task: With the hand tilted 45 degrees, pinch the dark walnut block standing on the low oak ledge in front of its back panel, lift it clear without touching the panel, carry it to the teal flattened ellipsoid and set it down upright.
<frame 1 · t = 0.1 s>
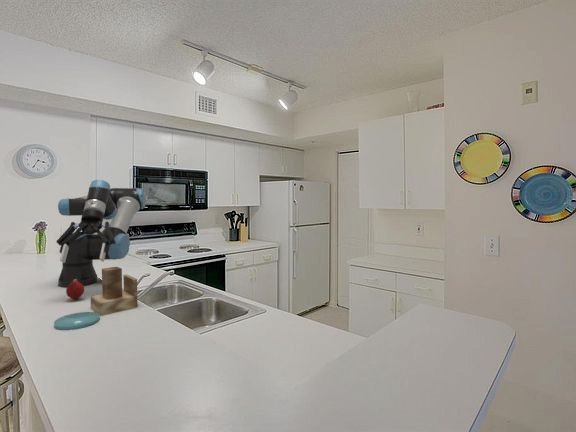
hand: (82, 260, 124), 15 cm above the counter, tool tilted 35°, fingers open, 13 cm apart
ledge: (112, 307, 117), on the counter
block: (112, 296, 117), point 4 cm above the counter, touching ledge
teal flattened ellipsoid: (77, 322, 103), on the counter
onion: (75, 300, 126), on the counter
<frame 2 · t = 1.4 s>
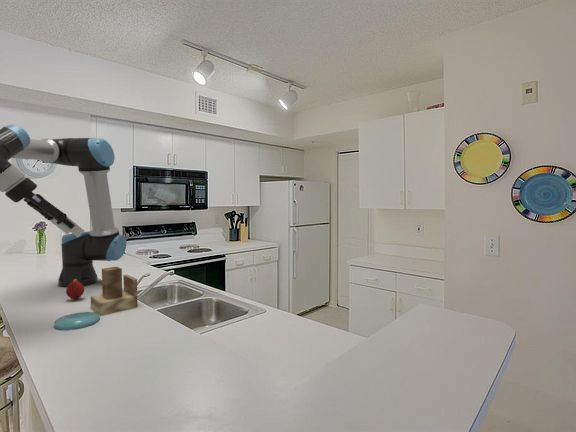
hand: (75, 232, 108), 27 cm above the counter, tool tilted 45°, fingers open, 13 cm apart
nothing on the counter moved.
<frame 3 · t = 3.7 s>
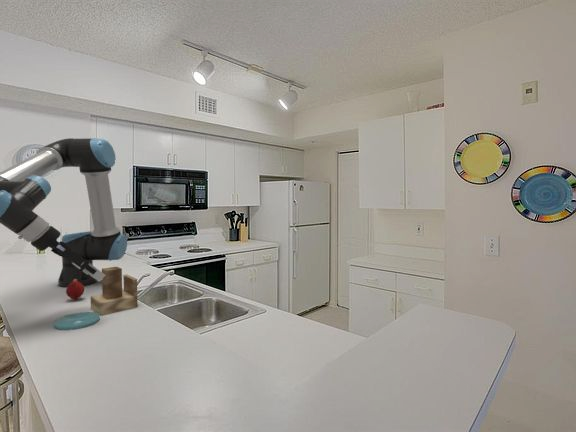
hand: (96, 274, 112), 13 cm above the counter, tool tilted 45°, fingers open, 13 cm apart
nothing on the counter moved.
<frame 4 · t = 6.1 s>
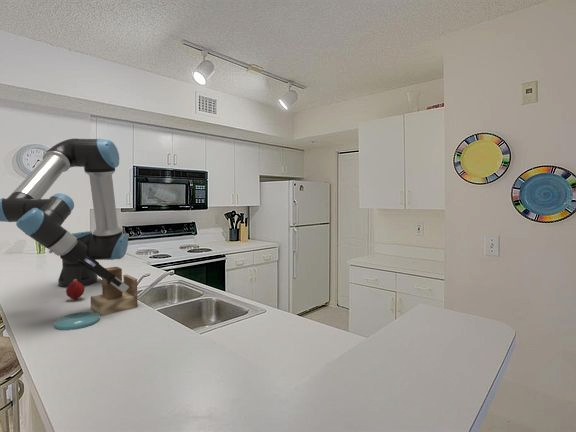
hand: (123, 288, 119), 6 cm above the counter, tool tilted 45°, fingers closed on block, 5 cm apart
block: (112, 296, 117), point 4 cm above the counter, touching gripper, ledge
everything else where it was.
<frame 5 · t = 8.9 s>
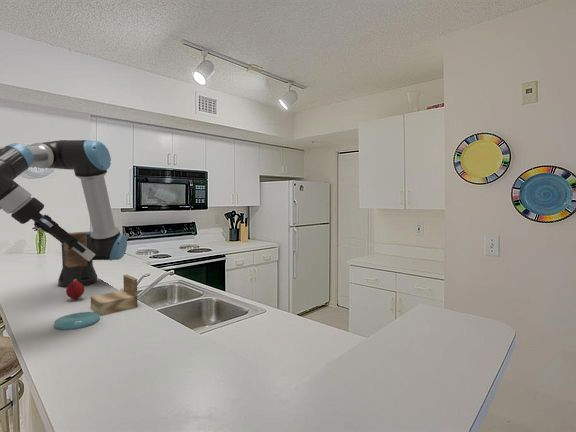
hand: (89, 256, 105), 20 cm above the counter, tool tilted 45°, fingers closed on block, 5 cm apart
block: (76, 265, 102), point 18 cm above the counter, touching gripper
everything else where it was.
when the fingers open (5 cm above the counter, at t = 12.0 s): block drops 1 cm, resting on teal flattened ellipsoid.
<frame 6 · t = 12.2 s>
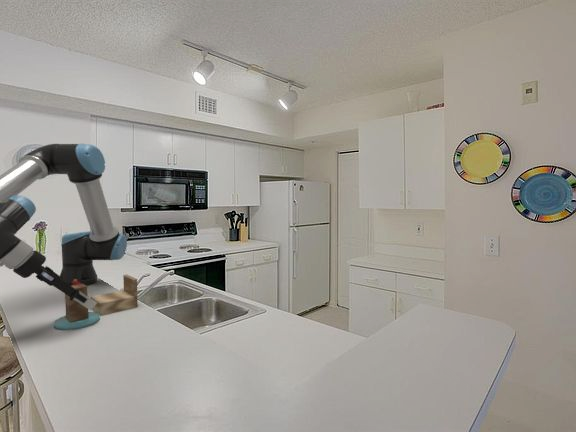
hand: (89, 303, 105), 5 cm above the counter, tool tilted 45°, fingers open, 7 cm apart
block: (77, 318, 103), point 1 cm above the counter, touching teal flattened ellipsoid
everything else where it was.
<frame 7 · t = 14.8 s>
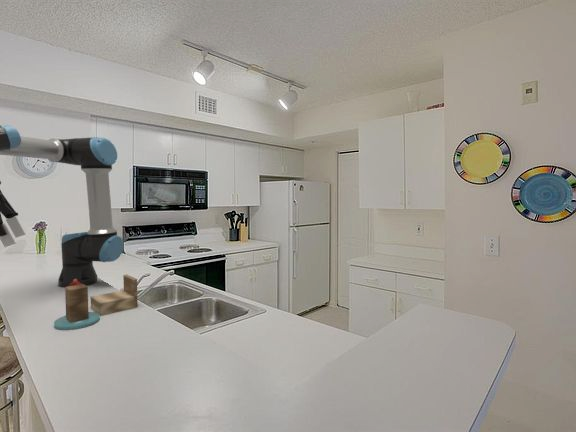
hand: (16, 240, 104), 25 cm above the counter, tool tilted 20°, fingers open, 13 cm apart
nothing on the counter moved.
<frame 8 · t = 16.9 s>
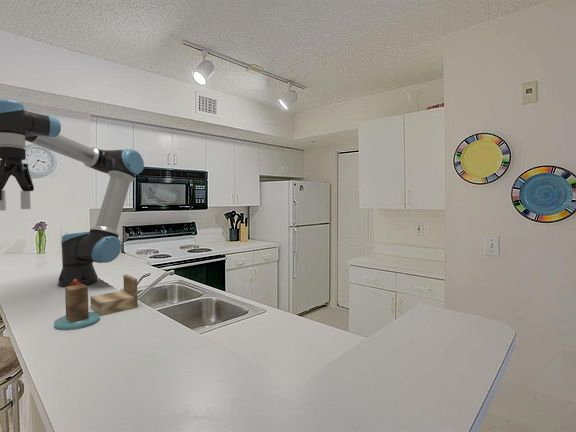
hand: (13, 209, 113), 35 cm above the counter, tool pointing down, fingers open, 13 cm apart
nothing on the counter moved.
at the end: block 0.1 cm from the teal flattened ellipsoid (horizontally); block point 1.2 cm above the counter; block tilted 0° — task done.
